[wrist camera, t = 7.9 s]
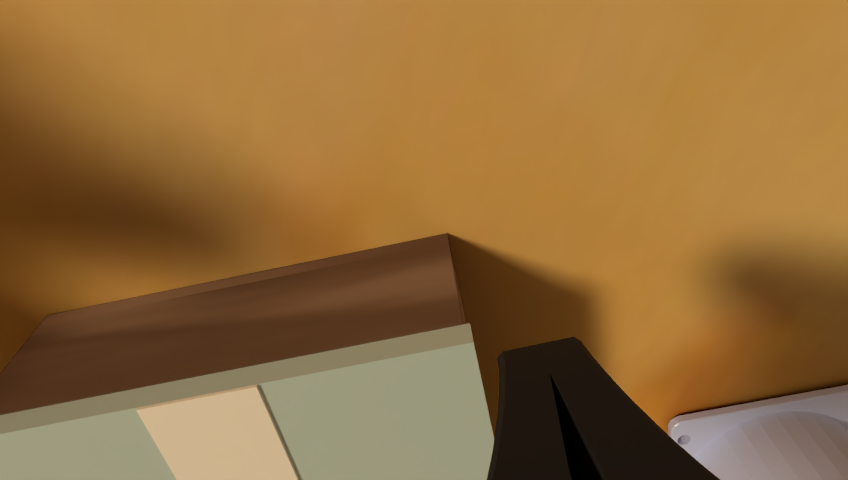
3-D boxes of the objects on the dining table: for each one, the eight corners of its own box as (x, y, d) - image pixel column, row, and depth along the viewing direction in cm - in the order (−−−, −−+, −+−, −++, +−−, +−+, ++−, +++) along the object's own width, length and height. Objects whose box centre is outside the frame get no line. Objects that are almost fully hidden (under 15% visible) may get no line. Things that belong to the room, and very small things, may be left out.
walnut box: (492, 445, 26) (513, 558, 21) (163, 505, 26) (119, 627, 22) (447, 233, 21) (462, 323, 17) (47, 315, 22) (-40, 421, 17)
